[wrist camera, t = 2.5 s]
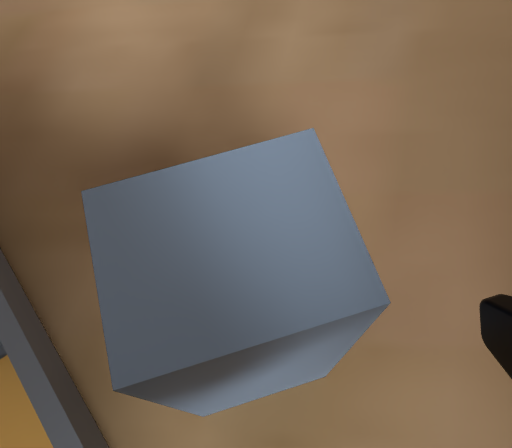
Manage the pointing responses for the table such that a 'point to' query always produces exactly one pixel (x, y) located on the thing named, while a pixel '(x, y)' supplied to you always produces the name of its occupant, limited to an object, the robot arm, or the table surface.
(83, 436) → the rack
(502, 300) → the robot arm
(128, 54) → the table surface
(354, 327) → the panel block
